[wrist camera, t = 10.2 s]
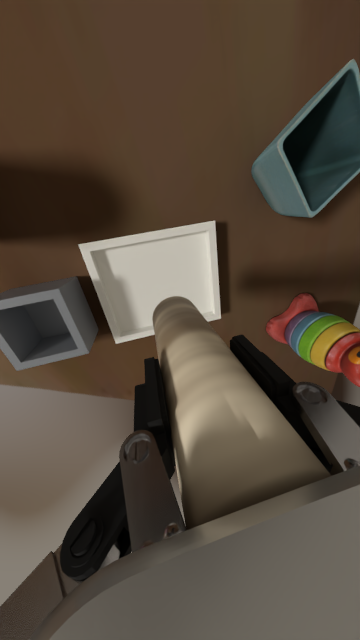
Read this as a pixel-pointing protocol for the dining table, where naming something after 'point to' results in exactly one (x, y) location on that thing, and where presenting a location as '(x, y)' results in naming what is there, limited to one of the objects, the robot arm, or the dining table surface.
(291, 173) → the flower pot
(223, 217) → the dining table surface
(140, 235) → the white tray
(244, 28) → the dining table surface
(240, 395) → the birch peg
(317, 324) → the stacking bear
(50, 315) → the grey open box
